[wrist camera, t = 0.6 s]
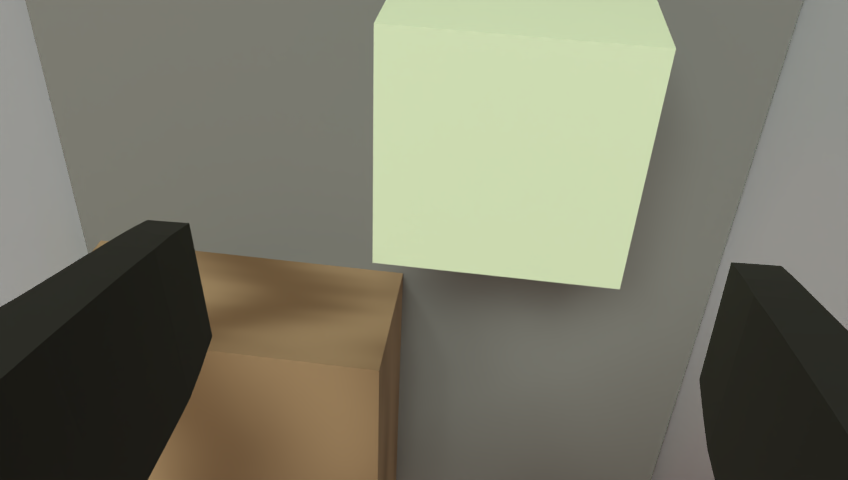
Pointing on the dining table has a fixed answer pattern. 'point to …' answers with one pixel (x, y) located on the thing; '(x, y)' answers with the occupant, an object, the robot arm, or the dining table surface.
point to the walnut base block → (292, 375)
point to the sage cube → (515, 134)
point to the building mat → (353, 210)
